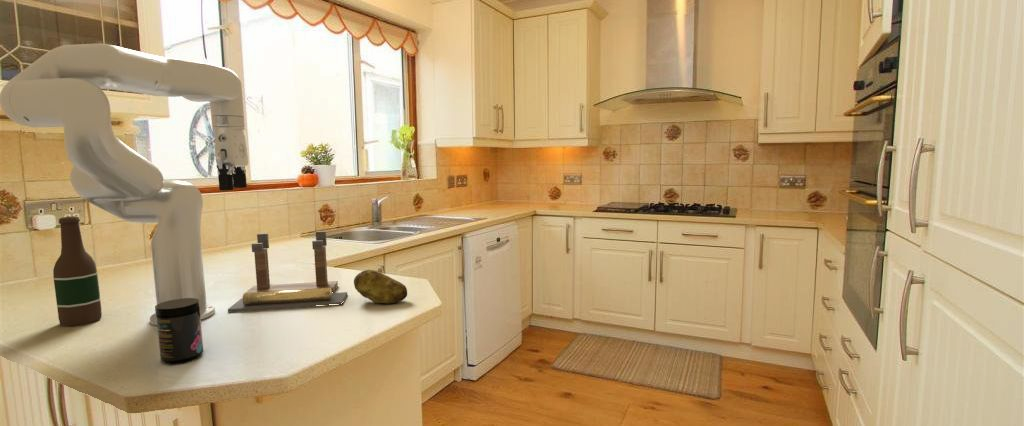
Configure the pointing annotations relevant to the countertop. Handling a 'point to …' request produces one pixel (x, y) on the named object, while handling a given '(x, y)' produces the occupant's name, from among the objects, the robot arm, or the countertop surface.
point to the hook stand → (321, 282)
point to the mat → (287, 304)
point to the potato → (379, 287)
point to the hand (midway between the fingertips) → (233, 188)
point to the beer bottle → (75, 278)
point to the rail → (287, 296)
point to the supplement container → (179, 330)
